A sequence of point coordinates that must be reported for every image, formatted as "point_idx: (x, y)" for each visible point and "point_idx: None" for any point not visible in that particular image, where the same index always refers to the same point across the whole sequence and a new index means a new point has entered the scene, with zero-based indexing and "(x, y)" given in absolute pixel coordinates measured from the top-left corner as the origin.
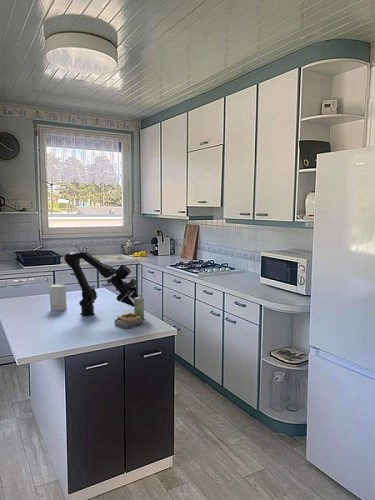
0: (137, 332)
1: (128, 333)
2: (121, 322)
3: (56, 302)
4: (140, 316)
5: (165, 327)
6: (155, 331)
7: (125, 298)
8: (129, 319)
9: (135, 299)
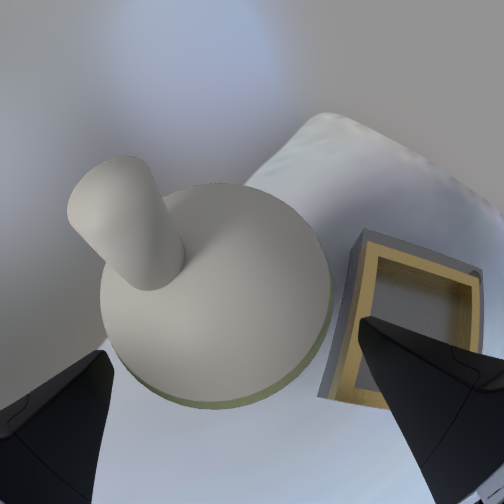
0: (454, 212)
1: (484, 242)
2: (479, 332)
3: None
4: (368, 243)
5: (319, 135)
6: (392, 152)
7: (494, 451)
8: (466, 276)
9: (321, 320)
